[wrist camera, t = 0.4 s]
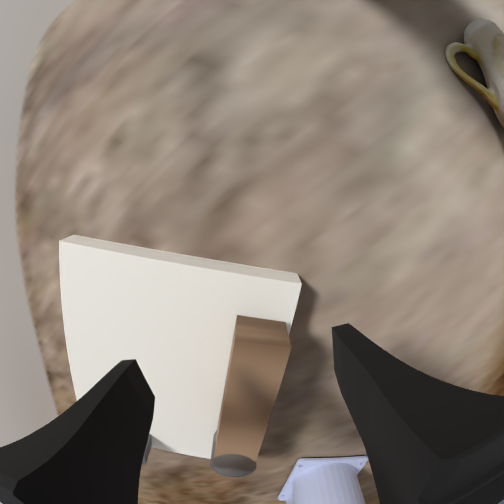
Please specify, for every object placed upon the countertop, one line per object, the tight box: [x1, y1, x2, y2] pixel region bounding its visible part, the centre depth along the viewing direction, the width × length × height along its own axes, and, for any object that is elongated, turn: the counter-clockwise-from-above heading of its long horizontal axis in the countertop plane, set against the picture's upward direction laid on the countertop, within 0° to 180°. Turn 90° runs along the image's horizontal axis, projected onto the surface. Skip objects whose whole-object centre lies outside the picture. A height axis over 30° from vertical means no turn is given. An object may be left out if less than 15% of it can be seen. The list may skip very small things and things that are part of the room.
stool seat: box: [59, 235, 302, 464], centre depth 20 cm, size 18×16×4 cm
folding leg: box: [210, 315, 291, 477], centre depth 18 cm, size 13×3×3 cm, turn 170°
